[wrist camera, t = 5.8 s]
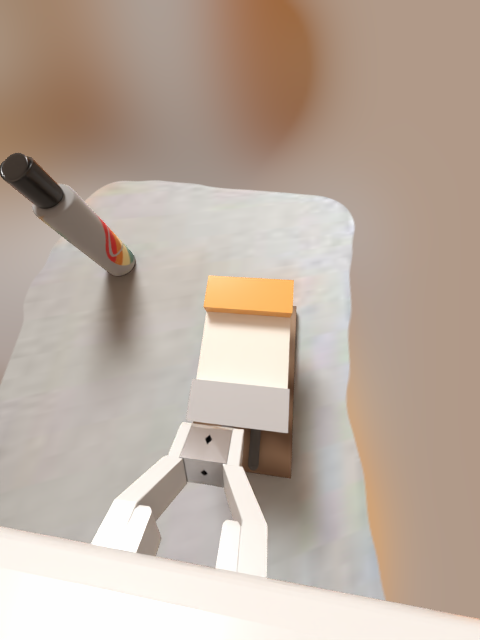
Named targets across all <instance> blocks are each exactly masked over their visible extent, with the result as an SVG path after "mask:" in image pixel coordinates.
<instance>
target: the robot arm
mask: <svg viewBox="0 0 480 640" xmlns="http://www.w3.org/2000/svg"><path fill="white" fill-rule="evenodd" d="M243 446H244V429H234V428H229V427H219V426H208V425H201V424H194V423H187V422H182V424H181V425H180V427H179V429H178V432H177V434H176V437H175V439H174V441H173V444H172V446H171V449H170V451H169V453H168V456H163V457H162V458H161V459H160V460H159V461H158V462H157V463H155V464H154V465H153V466H152V467H151V468H150V469H149V470H147V471H146V472H145V473H144V474H143V475H142V476H141V477H140V478H138V479H137V480H136V481H135V482H134V483H133V484H132V485H130V486H129V487H128V488H127V489H126V490H125V491H124V492H122V493H121V494H120V495H119V496H118V497H117V498H116V499H115V500H114V502H113V504H112V505H111V507H110V509H109V511H108V513H107V515H106V517H105V518H104V520H103V522H102V524H101V526H100V528H99V530H98V532H97V533H96V535H95V537H94V539H93V541H92V543H91V544H89V543H84V542H79V541H74V540H69V539H63V538H58V537H53V536H48V535H43V534H37V533H32V532H27V531H22V530H17V529H12V528H6V527H1V526H0V640H480V619H478V618H472V617H467V616H462V615H457V614H452V613H446V612H441V611H436V610H431V609H426V608H421V607H415V606H410V605H405V604H400V603H395V602H389V601H384V600H379V599H374V598H369V597H364V596H358V595H353V594H348V593H343V592H338V591H333V590H327V589H322V588H317V587H312V586H307V585H301V584H296V583H291V582H286V581H281V580H276V579H270V578H267V523H266V521H265V519H264V516H263V514H262V512H261V509H260V507H259V504H258V502H257V500H256V497H255V495H254V493H253V490H252V488H251V485H250V483H249V481H248V478H247V476H246V473H245V471H244V469H243V467H242V459H243ZM187 482H192V483H200V484H207V485H213V486H218V487H223V488H224V491H225V494H226V498H227V501H228V504H229V508H230V511H231V514H232V518H233V521H232V520H226V521H225V522H224V523H223V526H222V532H221V538H220V545H219V551H218V557H217V563H216V568H213V567H208V566H203V565H198V564H193V563H188V562H182V561H177V560H172V559H167V558H162V557H156V554H157V551H158V548H159V545H160V542H161V535H160V532H159V530H158V527H157V524H156V520H157V519H158V518H159V517H160V515H161V514H162V513H163V512H164V511H165V509H166V508H167V507H168V506H169V505H170V503H171V502H172V501H173V500H174V499H175V497H176V496H177V495H178V494H179V493H180V491H181V490H182V489H183V488H184V487H185V485H186V484H187Z"/></svg>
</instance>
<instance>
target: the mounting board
mask: <svg viewBox="0 0 480 640" xmlns="http://www.w3.org/2000/svg"><path fill="white" fill-rule="evenodd" d="M295 332H296V306H293V311H292V315H291V317H290V341H289V367H288V389H290V393H289V420H288V433H282V432H274V431H266V430H261V438H260V452H259V466H258V468H257V469H256V470H254V471H253V470H251V469H249V467H248V457H249V445H250V433H251V429H250V428H242V427H234V426H232V428H234V429H244V446H243V459H242V467H243V469H244V471H245V472H251V473H258V474H265V475H271V476H278V477H285V478H291V458H292V426H293V395H294V364H295ZM193 423H194V424H201V425H208V426H219V427H222V425H219V424H211V423H203V422H195V421H193Z"/></svg>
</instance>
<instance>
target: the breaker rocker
mask: <svg viewBox="0 0 480 640" xmlns="http://www.w3.org/2000/svg"><path fill="white" fill-rule="evenodd" d="M293 284H294V280H280V279H262V278H244V277H225V276H208V283H207V289H206V295H205V301H204V308H205V310H206V311H207V313H206V319H205V326H204V332H203V339H202V345H201V352H200V358H199V365H198V371H197V378H196V379H192V383H191V389H190V395H189V402H188V408H187V414H186V420H187V421H195V422H203V423H211V424H219V425H226V426H234V427H242V428H250V429H258V430H266V431H274V432H282V433H288V420H289V393H290V389H288V367H289V341H290V317H291V315H292V311H293Z"/></svg>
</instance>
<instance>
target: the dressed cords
mask: <svg viewBox="0 0 480 640" xmlns="http://www.w3.org/2000/svg"><path fill="white" fill-rule="evenodd" d="M222 427H229V428H232V426H226V425H222ZM260 438H261V430H258V429H251V433H250V445H249V457H248V467H249V469H251V470H253V471H254V470H256V469H257V468H258V466H259V452H260Z"/></svg>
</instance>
